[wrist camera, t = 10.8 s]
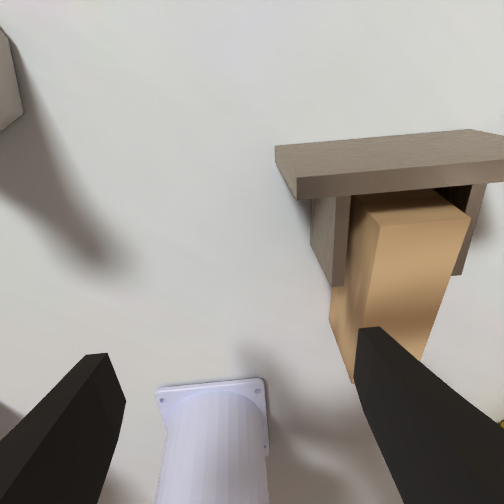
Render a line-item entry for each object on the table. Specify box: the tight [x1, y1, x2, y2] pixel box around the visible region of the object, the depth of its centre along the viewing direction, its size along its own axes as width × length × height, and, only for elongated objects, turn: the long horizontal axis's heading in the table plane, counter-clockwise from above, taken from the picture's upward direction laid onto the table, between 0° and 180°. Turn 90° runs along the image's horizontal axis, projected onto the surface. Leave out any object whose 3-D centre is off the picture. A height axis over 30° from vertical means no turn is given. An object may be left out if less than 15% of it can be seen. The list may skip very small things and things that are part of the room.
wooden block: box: [329, 188, 471, 384], centre depth 17 cm, size 10×4×5 cm, turn 4°
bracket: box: [275, 129, 504, 287], centre depth 15 cm, size 6×10×6 cm, turn 94°
